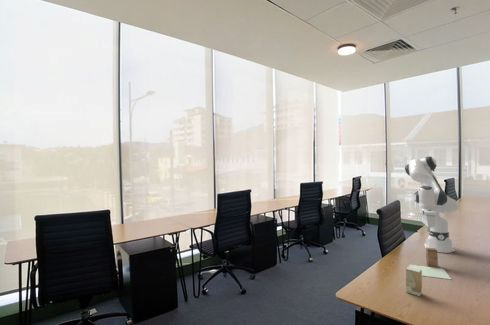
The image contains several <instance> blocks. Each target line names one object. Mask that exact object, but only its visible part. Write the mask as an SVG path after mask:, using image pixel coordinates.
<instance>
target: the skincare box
mask: <svg viewBox="0 0 490 325" xmlns="http://www.w3.org/2000/svg"><path fill="white" fill-rule="evenodd" d="M422 278H423V276H422V270H421V269H417V268H412V267H410V266H409V265H408V266H407V267H406V268H405V292H406V293H408V294H411V295H414V296H418V297H420V296H421V295H422V294H423V279H422Z"/></svg>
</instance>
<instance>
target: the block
mask: <svg viewBox="0 0 490 325" xmlns="http://www.w3.org/2000/svg"><path fill="white" fill-rule="evenodd" d="M438 256H439V254H438V252H437V250H436V249H435V248H426V249H425V257H426V258H425V260H426V261H425V262H426V263H425V264H426V267H434V268H439V265H438V264H439V261H438V260H439V258H438Z"/></svg>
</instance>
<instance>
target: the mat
mask: <svg viewBox="0 0 490 325" xmlns="http://www.w3.org/2000/svg"><path fill="white" fill-rule="evenodd" d="M408 266H409V267H412V268H417V269H421V270H422V277H428V278H434V279H435V278H436V279H442V280H443V279H444V280H452V278H451V276H450V275H449V274H448V273H447V272H446V270H445V269H444V268H442V267H438V268H434V267H428V266H425V265H424V266H423V265H416V264H408Z"/></svg>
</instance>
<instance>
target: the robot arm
mask: <svg viewBox="0 0 490 325" xmlns="http://www.w3.org/2000/svg"><path fill="white" fill-rule="evenodd" d="M436 168H437V161H436V159H435V158H433V156H426V157H423V158H420V159H418V158H415V159H411V160H410V161H409V162H408V164H406V165H405V166H404V171H405V173H406V174H407V175H408V176H409V177H410V178H411V180H412V181H413V182H414V181H415V182H416V183H420V184H421V186H420V187H419V190H417V191H416V192H414V194H413V195H414V201H415V203H416V204H418V209H419V214H421V223H423V224H424V225H425V232H427V233H428V234H429V235H428V237H427V238H425V239H424V241H425V242H424V246H425V248H424V250H426V248H435V249H436V250H437V253H445V254H446V253H447V254H448V253H453V252H456V250H455V248H453V242H452V239H451V238H450V232H449V222H448V221H447V220H446V219H445V218H444V217H441V215H440V214H450V213H455V212H457V211H458V209H459V203H458V202H457V200H456V199H453V198H452V197H450V196H449V195H447V193H446V192H445V191H444V190H443V188H442V187H441V185H440V183H439V181H438V179H437V177H436V176H435V174H434V173H433V172H435V169H436Z"/></svg>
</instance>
